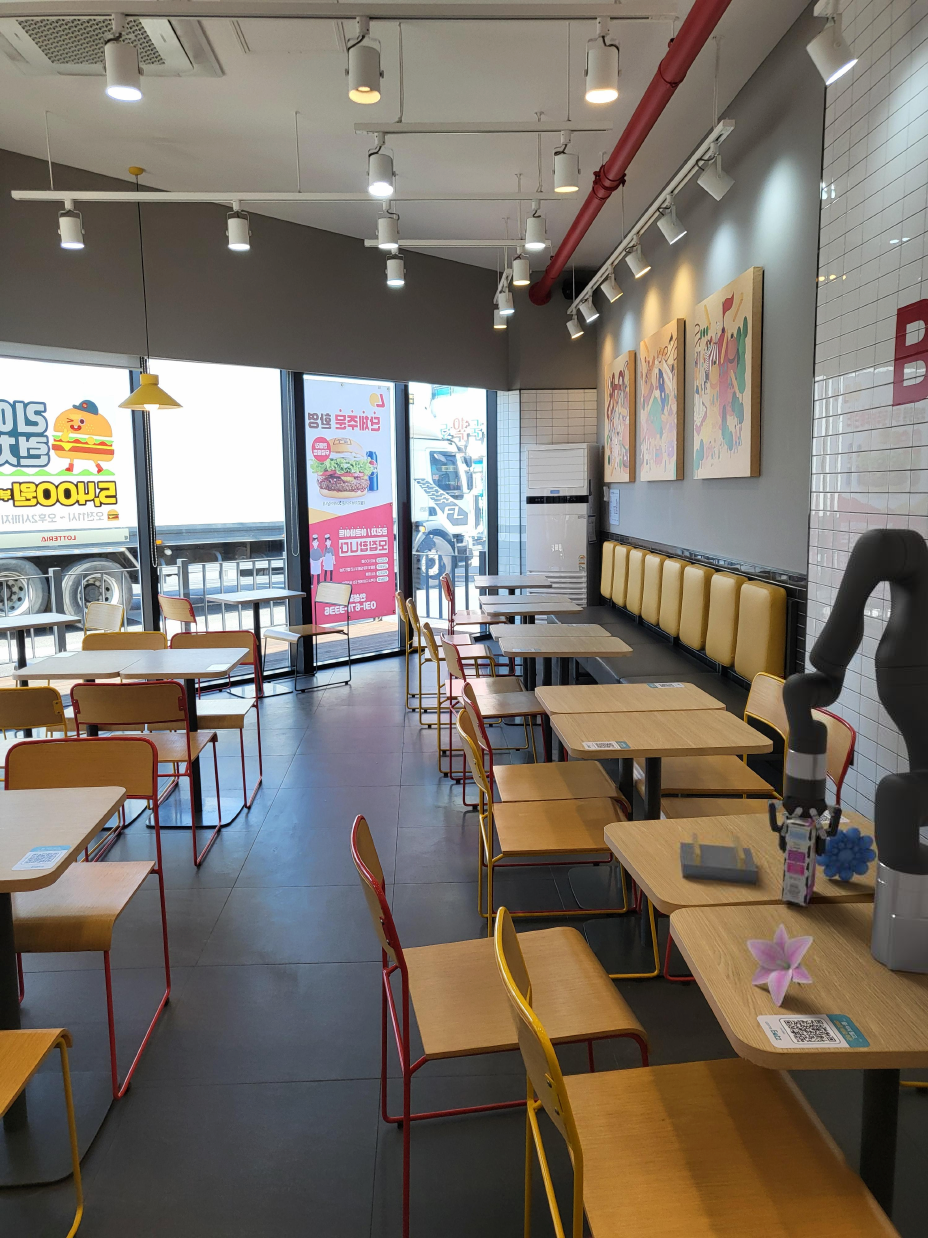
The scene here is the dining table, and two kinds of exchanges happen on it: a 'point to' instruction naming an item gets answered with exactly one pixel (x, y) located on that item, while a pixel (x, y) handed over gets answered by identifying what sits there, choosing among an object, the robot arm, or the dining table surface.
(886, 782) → the robot arm
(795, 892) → the candy bar box
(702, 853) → the dock
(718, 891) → the dining table surface
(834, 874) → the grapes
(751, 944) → the lily
